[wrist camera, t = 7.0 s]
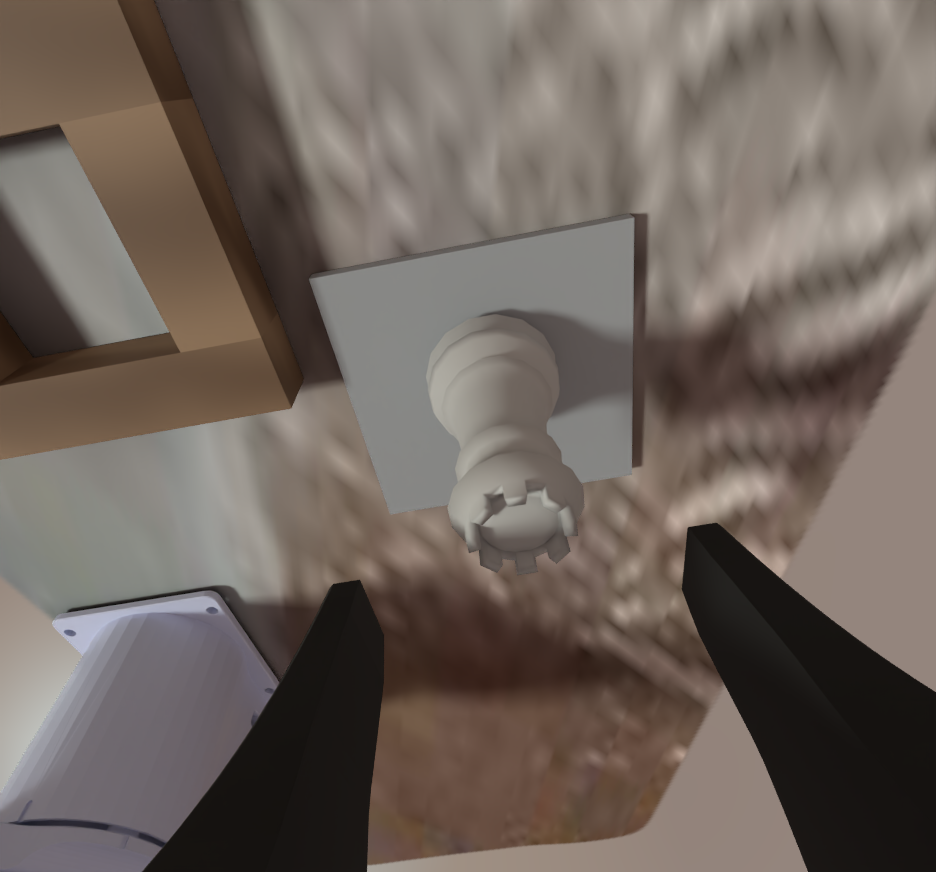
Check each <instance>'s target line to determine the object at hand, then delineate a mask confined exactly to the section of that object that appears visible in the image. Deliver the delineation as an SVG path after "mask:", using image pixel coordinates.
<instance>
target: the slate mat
mask: <svg viewBox="0 0 936 872" xmlns="http://www.w3.org/2000/svg"><path fill="white" fill-rule="evenodd" d="M309 282H310V284H311V287H312V290H313V293H314V296H315V299H316V302H317V305H318V308H319V310H320V313H321V316H322V319H323V322H324V325H325V328H326V331H327V333H328V336H329V339H330V342H331V345H332V348H333V351H334V354H335V356H336V359H337V362H338V365H339V368H340V371H341V374H342V377H343V379H344V382H345V385H346V388H347V391H348V394H349V397H350V400H351V403H352V405H353V408H354V411H355V414H356V417H357V420H358V423H359V426H360V428H361V431H362V434H363V437H364V440H365V443H366V446H367V449H368V451H369V454H370V457H371V460H372V463H373V466H374V469H375V472H376V474H377V477H378V480H379V483H380V486H381V489H382V492H383V495H384V498H385V500H386V503H387V506H388V509H389V512H390V514H395V513H401V512H407V511H414V510H420V509H426V508H432V507H438V506H444V505H449V501H450V497H451V494H452V490H453V488H454V486H455V485H456V484H457V483H458V480H457V476H456V471H455V467H456V463H457V460H458V456H459V452H460V451H461V448H460V444H459V441H458V440H457V439H456V438H455V437H454V436H453V435H451V434H449V432H448V431H447V430H446V429H445V427H444V426H443V425H442V424H441V422H440V421H439V420H438V419H437V417H436V416H435V414H434V412H433V410H432V405H431V401H430V397H429V393H428V384H427V380H426V373H427V369H428V364H429V359H430V354H431V352H432V351H433V350H434V348H435V347H436V346H437V344H438V343H439V341H440V340H441V339H442V337H443V336H444V335H445V333H447V332H448V331H450V330H451V329H453V328H455V327H456V326H458V325H460V324H461V323H463V322H465V321H466V320H468V319H471V318H477V317H483V316H488V315H494V314H498V315H502V316H507V317H512V318H517V319H522V320H524V321H525V322H527V323H528V324H529V325H531V326H532V327H534V328H535V329H537V330H538V331H540V332H541V333H543V335H544V336H545V338H546V340H547V342H548V343H549V345H550V347H551V348H552V350H553V352H554V353H555V361H556V365H557V366H558V373H559V386H560V391H559V397H558V399H557V402H556V405H555V407H554V410H553V413H552V415H551V417H550V418H549V419H548V422H547V425H546V426H547V434H548V435H549V436H551V437H552V438H553V440H554V441H555V443H556V444H557V446H558V447H559V449H560V450H561V455H562V463H563V464H564V465H566V466H568V467H570V468H571V469H572V470H573V472H574V473H575V475H576V476H577V478H578V479H579V481H580V482H581V483H584V482H590V481H596V480H603V479H609V478H615V477H621V476H627V475H632V402H633V299H634V217H633V216H632V215H630V214H625V215H620V216H615V217H610V218H604V219H599V220H594V221H589V222H583V223H578V224H573V225H568V226H562V227H557V228H552V229H546V230H541V231H536V232H531V233H525V234H520V235H515V236H510V237H504V238H499V239H494V240H489V241H483V242H478V243H473V244H467V245H462V246H457V247H452V248H446V249H441V250H436V251H431V252H425V253H420V254H415V255H410V256H404V257H399V258H394V259H388V260H383V261H378V262H373V263H367V264H362V265H357V266H352V267H346V268H341V269H336V270H331V271H325V272H320V273H315V274H311V276H310V278H309Z"/></svg>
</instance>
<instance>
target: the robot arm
mask: <svg viewBox="0 0 936 872" xmlns="http://www.w3.org/2000/svg"><path fill="white" fill-rule="evenodd" d="M682 591H683V594H684V596H685V599H686V602H687V604H688V607H689V610H690V613H691V615H692V618H693V620H694V623H695V625H696V628H697V630H698V633H699V635H700V637H701V639H702V641H703V643H704V645H705V647H706V649H707V651H708V653H709V655H710V657H711V659H712V661H713V663H714V665H715V667H716V669H717V671H718V673H719V674H720V676H721V678H722V680H723V682H724V684H725V686H726V688H727V690H728V692H729V694H730V696H731V698H732V699H733V701H734V703H735V705H736V707H737V709H738V711H739V713H740V715H741V717H742V718H743V721H744V723H745V724H746V726H747V728H748V730H749V732H750V734H751V736H752V738H753V740H754V742H755V744H756V746H757V748H758V751H759V753H760V755H761V757H762V759H763V761H764V764H765V766H766V768H767V771H768V773H769V775H770V778H771V780H772V783H773V785H774V788H775V790H776V792H777V795H778V797H779V800H780V802H781V805H782V807H783V809H784V812H785V814H786V817H787V819H788V822H789V825H790V827H791V829H792V832H793V835H794V837H795V839H796V842H797V845H798V847H799V850H800V852H801V855H802V857H803V860H804V863H805V865H806V868H807V870H808V872H936V692H935V691H933V690H931V689H930V688H928V687H927V686H925V685H924V684H922V683H920V682H919V681H917V680H916V679H914V678H913V677H911V676H910V675H908V674H907V673H905V672H904V671H902V670H901V669H899V668H898V667H896V666H895V665H893V664H892V663H890V662H889V661H888V660H886V659H885V658H883V657H882V656H880V655H879V654H878V653H876V652H874V651H873V650H872V649H870V648H869V647H867V646H866V645H865V644H864V643H862V642H861V641H859V640H858V639H857V638H855V637H854V636H852V635H851V634H850V633H849V632H847V631H846V630H845V629H843V628H842V627H841V626H839V625H838V624H837V623H835V622H834V621H833V620H831V619H830V618H829V617H828V616H826V615H825V614H823V613H822V612H821V611H820V610H819V609H817V608H816V607H815V606H814V605H812V604H811V603H810V602H808V601H807V600H806V599H805V598H804V597H802V596H801V595H800V594H799V593H798V592H796V591H795V590H794V589H793V588H791V587H790V586H789V585H788V584H786V583H785V582H784V581H783V580H782V579H781V578H779V577H778V576H777V575H776V574H775V573H774V572H772V571H771V570H770V569H769V568H768V567H767V566H765V565H764V564H763V563H762V562H761V561H760V560H759V559H757V558H756V557H755V556H754V555H753V554H752V553H751V552H749V551H748V550H747V549H746V548H745V547H744V546H743V545H742V544H741V543H739V542H738V541H737V540H736V539H735V538H734V537H733V536H732V535H731V534H729V533H728V532H727V531H726V530H725V529H724V528H723V527H722V526H720V525H719V524H718V523H712V524H706V525H699V526H693V527H688V530H687V541H686V551H685V562H684V572H683V583H682ZM53 626H54V628H55V629H56V630H57V631H58V632H59V633H60V634H61V635H62V636H63V637H64V638H65V639H66V640H67V641H68V642H69V643H70V644H71V645H72V646H73V647H74V648H75V649H76V650H77V651H79V653H81V655H83V656H82V658H81V659H80V661H79V663H78V664H77V666H76V668H75V669H74V671H73V673H72V674H71V676H70V678H69V679H68V681H67V683H66V684H65V686H64V688H63V689H62V691H61V693H60V694H59V696H58V698H57V699H56V701H55V703H54V704H53V706H52V708H51V709H50V711H49V713H48V714H47V716H46V718H45V719H44V721H43V723H42V724H41V726H40V728H39V729H38V731H37V733H36V734H35V736H34V738H33V739H32V741H31V743H30V744H29V746H28V748H27V749H26V751H25V752H24V754H23V756H22V758H21V759H20V761H19V762H18V765H17V766H16V767H15V769H14V771H13V773H12V774H11V776H10V778H9V779H8V781H7V783H6V784H5V786H4V787H3V789H2V791H1V793H0V872H367V852H368V822H369V806H370V794H371V784H372V776H373V768H374V760H375V751H376V743H377V735H378V727H379V718H380V710H381V701H382V692H383V683H384V634H383V632H382V630H381V627H380V625H379V623H378V620H377V618H376V616H375V614H374V611H373V609H372V607H371V604H370V602H369V600H368V597H367V595H366V593H365V590H364V588H363V586H362V584H361V581H360V580H355V581H349V582H343V583H337V584H333V585H332V586H331V587H330V589H329V591H328V593H327V595H326V597H325V599H324V601H323V603H322V605H321V607H320V609H319V611H318V613H317V615H316V617H315V619H314V621H313V623H312V625H311V626H310V628H309V630H308V632H307V634H306V636H305V638H304V640H303V642H302V643H301V645H300V647H299V649H298V651H297V653H296V654H295V656H294V658H293V660H292V661H291V663H290V665H289V667H288V669H287V670H286V672H285V674H284V676H283V678H282V679H281V681H280V683H279V681H278V680H277V678H276V677H275V675H274V674H273V672H272V671H271V670H270V668H269V667H268V665H267V664H266V662H265V661H264V659H263V658H262V656H261V655H260V653H259V652H258V650H257V649H256V647H255V646H254V645H253V643H252V642H251V640H250V639H249V637H248V636H247V634H246V633H245V631H244V630H243V628H242V627H241V625H240V624H239V623H238V621H237V620H236V618H235V617H234V615H233V614H232V612H231V611H230V609H229V608H228V606H227V605H226V603H225V602H224V601H223V599H222V598H221V596H220V595H219V594H218V593H216V592H214V591H201V592H194V593H188V594H182V595H175V596H169V597H163V598H157V599H150V600H144V601H138V602H132V603H125V604H119V605H113V606H106V607H100V608H94V609H88V610H81V611H75V612H69V613H63V614H59V615H58V616H57V617H56V618H55V619H54V621H53Z"/></svg>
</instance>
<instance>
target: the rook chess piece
mask: <svg viewBox="0 0 936 872" xmlns="http://www.w3.org/2000/svg"><path fill="white" fill-rule="evenodd" d="M426 380H427V384H428V393H429V397H430V401H431V405H432V410H433V412H434V414H435V416H436V417H437V419H438V420H439V421H440V422H441V424H442V425H443V426H444V427H445V429H446V430H447V431H448V432H449V434H451V435H453V436H454V437H455V438H456V439H457V440H458V441H459V444H460V448H461V451H460V452H459V456H458V460H457V463H456V467H455V471H456V476H457V480H458V483H457V484H456V485H455V486H454V488H453V490H452V494H451V497H450V501H449V505H448V508H447V509H448V512H449V516H450V520H451V524H452V528H453V529H454V530H455V531H456V532H457V533H458V534H459V535H460V537H461V538H462V539H463V540H464V541H465V542H466V543H467V546H468V550H469V553H471V552H474V551H478V550H479V556H480V565H481V566H483V567H486V568H488V569H490V570H492V571H494V572H498V571H499V570H500V568H501V567H502V565H503V563H502V559H507V560H515V564H516V570H517V575H522V574H528V573H535V572H538V570H537V565H536V560H535V557H537V556H539V555H541V554H543V553H546V552H548V556H549V558H550V559H551V560H552V561H554V562H555V563H556V564H557V563H558V562H559V561H560V560H561V559H562V558H563V557H565V556H566V555H567V554H568V553H569V552H570V548H569V544H568V540H567V536H578V532H577V521H578V519H579V517H580V515H581V513H582V511H583V509H584V490H583V485H582V484H581V482H580V481H579V479H578V478H577V476H576V475H575V473H574V472H573V470H572V469H571V468H570V467H568V466H566V465H564V464H563V463H562V455H561V450H560V449H559V447H558V446H557V444H556V443H555V441H554V440H553V438H552V437H551V436H549V435H548V434H547V426H546V425H547V422H548V419H549V418H550V417H551V415H552V413H553V410H554V407H555V405H556V402H557V399H558V397H559V391H560V386H559V373H558V366H557V365H556V361H555V353H554V352H553V350H552V348H551V347H550V345H549V343H548V342H547V340H546V338H545V336H544V335H543V333H541V332H540V331H538V330H537V329H535V328H534V327H532V326H531V325H529V324H528V323H527V322H525V321H524V320H522V319H517V318H512V317H507V316H502V315H498V314H494V315H488V316H483V317H477V318H471V319H468V320H466V321H465V322H463V323H461V324H460V325H458V326H456V327H455V328H453V329H451V330H450V331H448V332H447V333H445V335H444V336H443V337H442V339H441V340H440V341H439V343H438V344H437V346H436V347H435V348H434V350H433V351H432V352H431V354H430V359H429V364H428V369H427V373H426Z"/></svg>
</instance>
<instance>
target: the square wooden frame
mask: <svg viewBox="0 0 936 872" xmlns="http://www.w3.org/2000/svg"><path fill="white" fill-rule="evenodd" d="M59 126H60V127H61V128H62V130H63V132H64V134H65V136H66V138H67V140H68V142H69V143H70V145H71V147H72V149H73V151H74V153H75V155H76V157H77V159H78V160H79V162H80V164H81V166H82V168H83V170H84V172H85V174H86V176H87V177H88V179H89V181H90V183H91V185H92V187H93V189H94V191H95V192H96V194H97V196H98V198H99V200H100V202H101V204H102V206H103V208H104V209H105V211H106V213H107V215H108V217H109V219H110V221H111V223H112V224H113V226H114V228H115V230H116V232H117V234H118V236H119V238H120V240H121V241H122V243H123V245H124V247H125V249H126V251H127V253H128V255H129V256H130V258H131V260H132V262H133V264H134V266H135V268H136V270H137V272H138V273H139V275H140V277H141V279H142V281H143V283H144V285H145V287H146V289H147V290H148V292H149V294H150V296H151V298H152V300H153V302H154V304H155V305H156V307H157V309H158V311H159V313H160V315H161V317H162V319H163V321H164V322H165V324H166V326H167V328H168V330H169V332H170V333H165V334H159V335H154V336H149V337H143V338H138V339H133V340H127V341H122V342H117V343H111V344H106V345H100V346H95V347H90V348H84V349H79V350H74V351H68V352H63V353H58V354H52V355H47V356H42V357H36V358H33V357H32V356H31V354H30V353H29V352H28V350H27V349H26V347H25V346H24V344H23V343H22V342H21V340H20V339H19V337H18V336H17V335H16V333H15V332H14V330H13V329H12V328H11V326H10V325H9V323H8V322H7V321H6V319H5V318H4V316H3V315H2V314H1V312H0V460H1V459H7V458H13V457H18V456H24V455H30V454H35V453H41V452H47V451H52V450H58V449H64V448H69V447H75V446H81V445H86V444H92V443H98V442H103V441H109V440H115V439H120V438H126V437H132V436H137V435H143V434H149V433H154V432H160V431H166V430H171V429H177V428H183V427H188V426H194V425H200V424H205V423H211V422H217V421H222V420H228V419H234V418H239V417H245V416H251V415H256V414H262V413H268V412H273V411H279V410H285V409H290V408H292V406H293V403H294V401H295V398H296V396H297V394H298V391H299V389H300V387H301V384H302V382H303V380H304V378H303V375H302V373H301V370H300V368H299V365H298V363H297V360H296V358H295V355H294V353H293V350H292V348H291V345H290V343H289V340H288V337H287V335H286V332H285V330H284V327H283V325H282V322H281V320H280V317H279V315H278V312H277V310H276V307H275V305H274V302H273V300H272V297H271V295H270V292H269V289H268V287H267V284H266V282H265V279H264V277H263V274H262V272H261V269H260V267H259V264H258V262H257V259H256V257H255V254H254V252H253V249H252V247H251V244H250V242H249V239H248V236H247V234H246V231H245V229H244V226H243V224H242V221H241V219H240V216H239V214H238V211H237V209H236V206H235V204H234V201H233V199H232V196H231V194H230V191H229V188H228V186H227V183H226V181H225V178H224V176H223V173H222V171H221V168H220V166H219V163H218V161H217V158H216V156H215V153H214V151H213V148H212V146H211V143H210V140H209V138H208V135H207V133H206V130H205V128H204V125H203V123H202V120H201V118H200V115H199V113H198V110H197V108H196V105H195V103H194V100H193V98H192V95H191V92H190V90H189V87H188V85H187V82H186V80H185V77H184V75H183V72H182V70H181V67H180V65H179V62H178V60H177V57H176V55H175V52H174V50H173V47H172V45H171V42H170V39H169V37H168V34H167V32H166V29H165V27H164V24H163V22H162V19H161V17H160V14H159V12H158V9H157V7H156V4H155V2H154V0H0V139H2V138H7V137H12V136H16V135H21V134H26V133H31V132H35V131H40V130H45V129H50V128H54V127H59Z"/></svg>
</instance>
